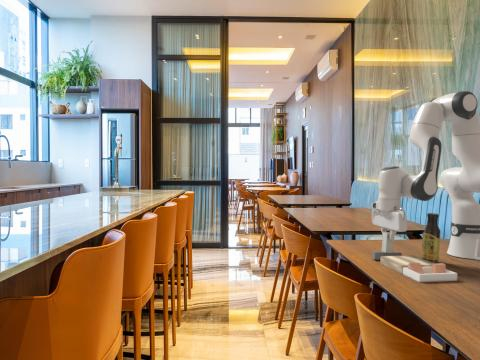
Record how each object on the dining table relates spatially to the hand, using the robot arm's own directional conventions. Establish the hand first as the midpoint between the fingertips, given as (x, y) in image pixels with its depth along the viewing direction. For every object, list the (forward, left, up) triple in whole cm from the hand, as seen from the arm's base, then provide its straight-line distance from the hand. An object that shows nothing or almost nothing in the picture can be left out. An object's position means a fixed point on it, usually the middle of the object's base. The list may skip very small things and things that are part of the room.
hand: (388, 239), depth 148 cm
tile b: (+3, +22, -7) cm, 23 cm away
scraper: (0, 0, -8) cm, 8 cm away
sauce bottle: (-15, +6, -9) cm, 19 cm away
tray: (0, +25, -9) cm, 26 cm away
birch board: (0, +13, -9) cm, 16 cm away
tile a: (-4, +24, -6) cm, 25 cm away
